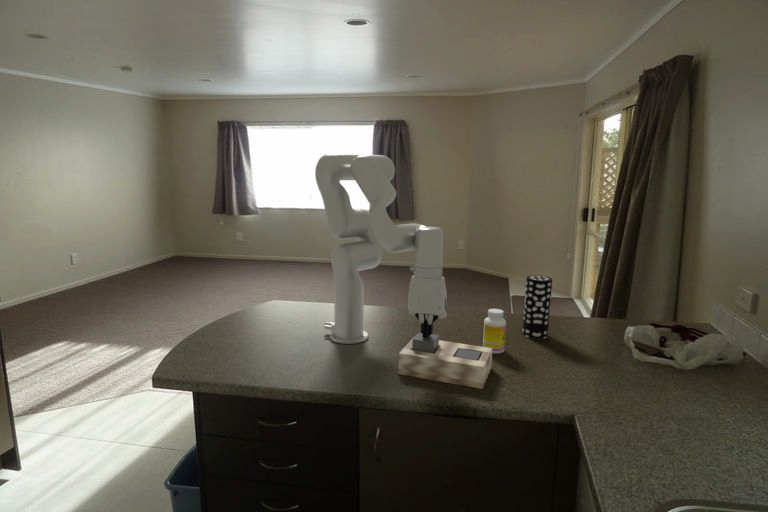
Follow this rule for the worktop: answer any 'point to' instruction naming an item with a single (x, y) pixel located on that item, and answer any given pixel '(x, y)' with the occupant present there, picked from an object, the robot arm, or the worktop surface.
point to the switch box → (447, 364)
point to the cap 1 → (425, 343)
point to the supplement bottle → (494, 331)
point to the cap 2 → (468, 354)
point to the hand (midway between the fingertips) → (426, 336)
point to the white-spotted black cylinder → (537, 306)
